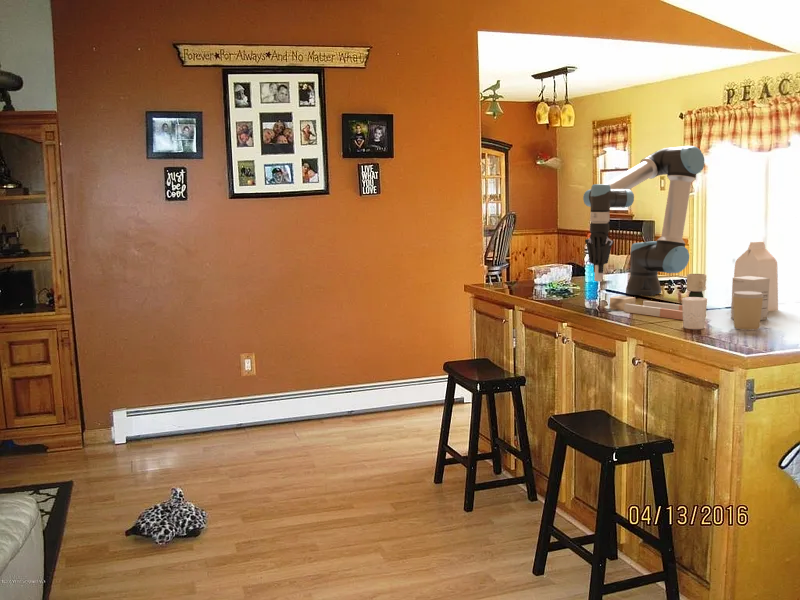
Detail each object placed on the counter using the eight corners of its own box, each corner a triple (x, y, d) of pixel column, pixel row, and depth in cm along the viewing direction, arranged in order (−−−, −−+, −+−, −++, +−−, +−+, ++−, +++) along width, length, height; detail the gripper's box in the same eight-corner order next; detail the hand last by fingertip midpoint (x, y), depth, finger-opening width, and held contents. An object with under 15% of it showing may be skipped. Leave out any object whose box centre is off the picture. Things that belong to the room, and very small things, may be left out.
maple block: (609, 308, 307) (609, 297, 307) (619, 306, 312) (620, 295, 311) (625, 310, 302) (625, 299, 301) (635, 308, 307) (635, 297, 306)
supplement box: (729, 318, 279) (731, 277, 277) (746, 316, 283) (747, 275, 281) (752, 322, 271) (753, 279, 269) (768, 319, 275) (770, 277, 273)
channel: (624, 311, 298) (624, 303, 298) (645, 308, 306) (645, 300, 305) (683, 320, 278) (683, 311, 277) (704, 315, 285) (705, 307, 285)
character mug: (710, 309, 300) (712, 275, 298) (693, 309, 300) (694, 276, 298) (697, 304, 311) (699, 272, 309) (680, 305, 310) (681, 273, 308)
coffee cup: (760, 326, 263) (761, 291, 261) (763, 331, 254) (765, 294, 252) (730, 325, 266) (731, 290, 264) (732, 330, 257) (734, 294, 255)
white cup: (677, 326, 266) (678, 297, 265) (699, 325, 267) (700, 296, 265) (687, 330, 258) (688, 300, 257) (710, 329, 259) (711, 299, 258)
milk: (756, 312, 289) (759, 243, 286) (730, 309, 299) (733, 241, 296) (778, 309, 295) (781, 241, 291) (752, 306, 305) (754, 240, 301)
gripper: (580, 222, 315) (579, 280, 318) (606, 223, 304) (604, 282, 308) (593, 222, 319) (591, 278, 322) (618, 222, 309) (617, 281, 312)
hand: (598, 280), depth 315 cm, fingers closed
